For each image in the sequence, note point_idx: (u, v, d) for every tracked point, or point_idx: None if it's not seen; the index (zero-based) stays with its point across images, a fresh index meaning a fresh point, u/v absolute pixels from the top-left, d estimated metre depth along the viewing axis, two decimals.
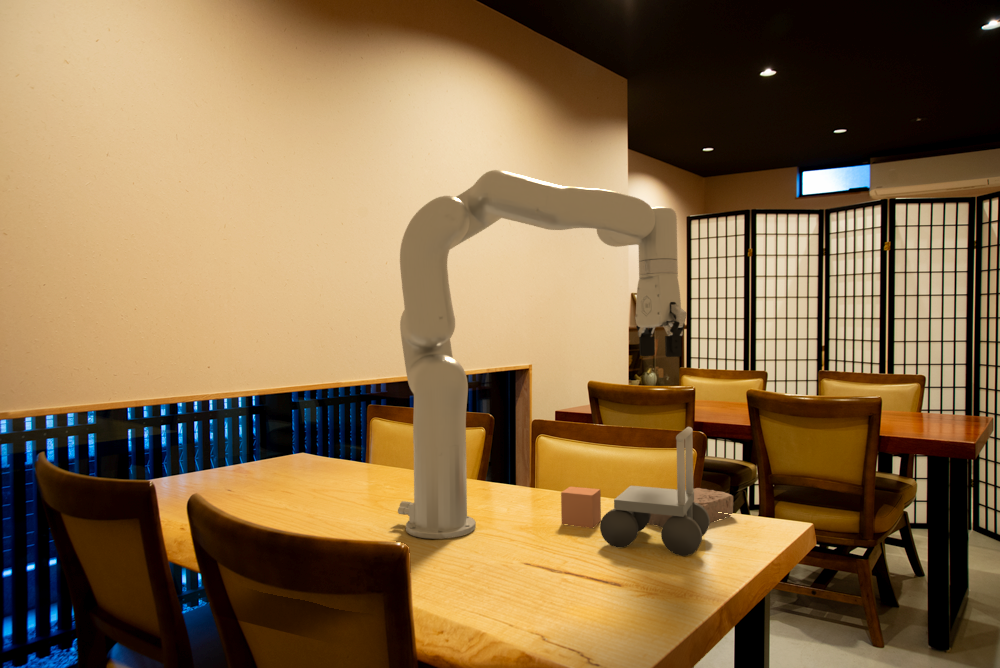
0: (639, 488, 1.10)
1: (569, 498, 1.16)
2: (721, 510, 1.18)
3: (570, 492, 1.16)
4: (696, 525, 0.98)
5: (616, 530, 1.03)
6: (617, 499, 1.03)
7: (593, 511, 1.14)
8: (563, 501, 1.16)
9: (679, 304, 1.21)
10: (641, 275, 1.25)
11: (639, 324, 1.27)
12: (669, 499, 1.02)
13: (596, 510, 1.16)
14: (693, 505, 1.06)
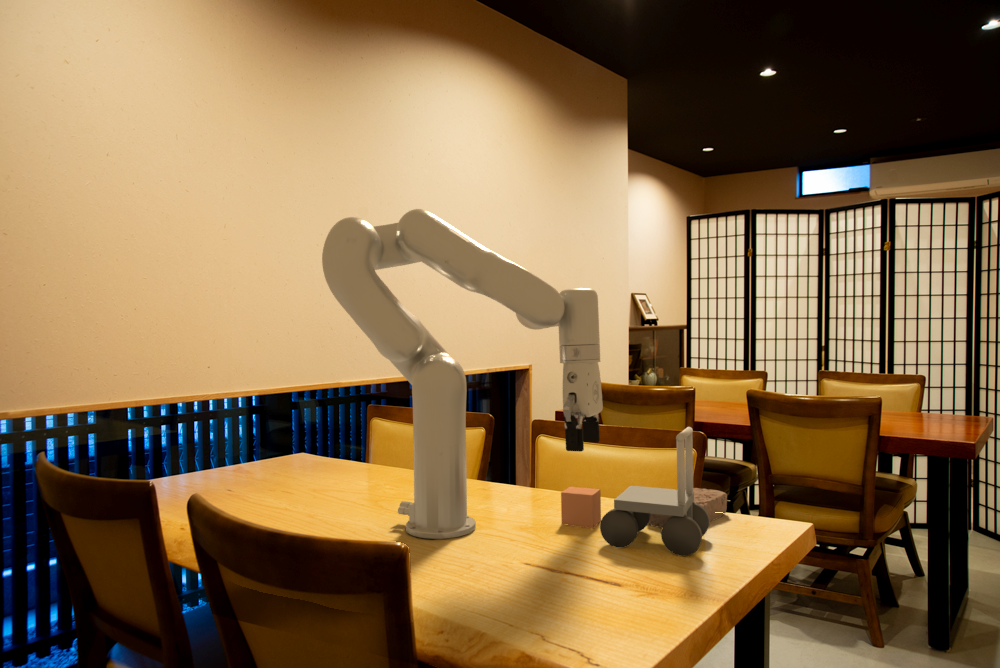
0: (639, 488, 1.10)
1: (569, 498, 1.16)
2: (718, 508, 1.19)
3: (570, 492, 1.16)
4: (696, 525, 0.98)
5: (616, 530, 1.03)
6: (617, 499, 1.03)
7: (593, 511, 1.14)
8: (563, 501, 1.16)
9: None
10: (599, 359, 1.16)
11: (591, 413, 1.14)
12: (669, 499, 1.02)
13: (596, 510, 1.16)
14: (693, 505, 1.06)
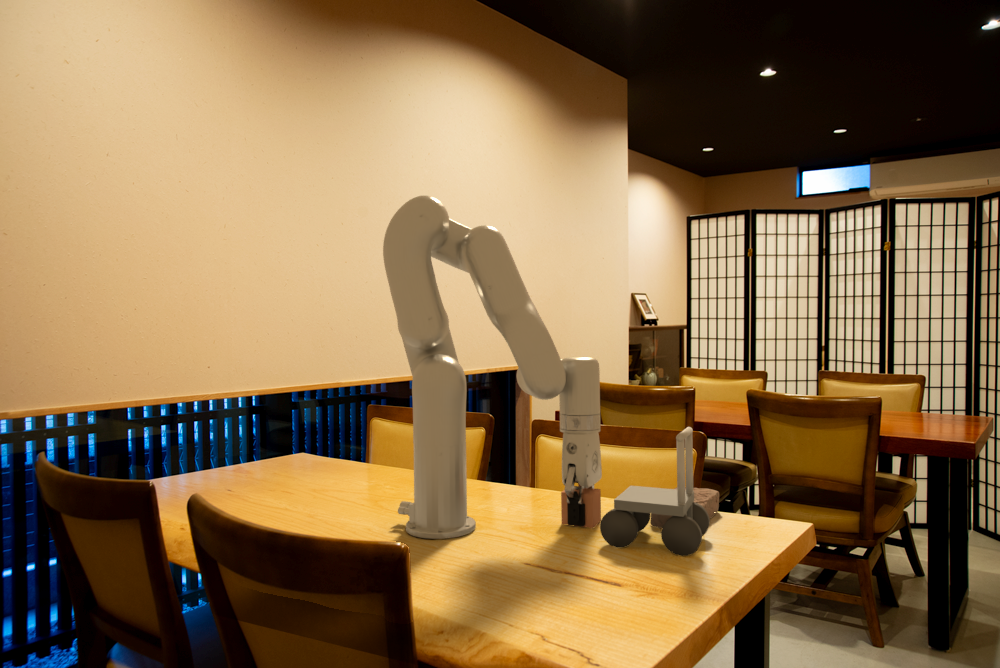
0: (639, 488, 1.10)
1: None
2: (713, 506, 1.20)
3: None
4: (696, 525, 0.98)
5: (616, 530, 1.03)
6: (617, 499, 1.03)
7: (593, 511, 1.14)
8: (563, 501, 1.16)
9: None
10: (599, 429, 1.16)
11: (590, 485, 1.13)
12: (669, 499, 1.02)
13: (596, 509, 1.16)
14: (693, 505, 1.06)
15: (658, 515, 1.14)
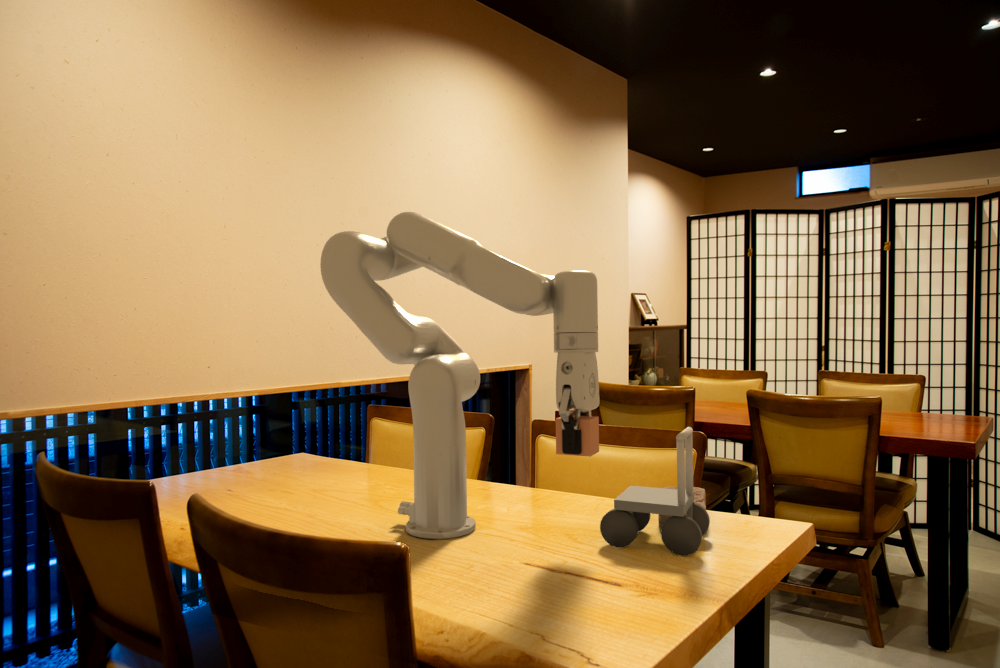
0: (639, 488, 1.10)
1: None
2: None
3: None
4: (696, 525, 0.98)
5: (616, 530, 1.03)
6: (617, 499, 1.03)
7: (590, 438, 1.04)
8: (558, 428, 1.06)
9: None
10: (597, 349, 1.05)
11: (587, 408, 1.03)
12: (669, 499, 1.02)
13: (594, 437, 1.05)
14: (693, 505, 1.06)
15: (668, 517, 1.12)
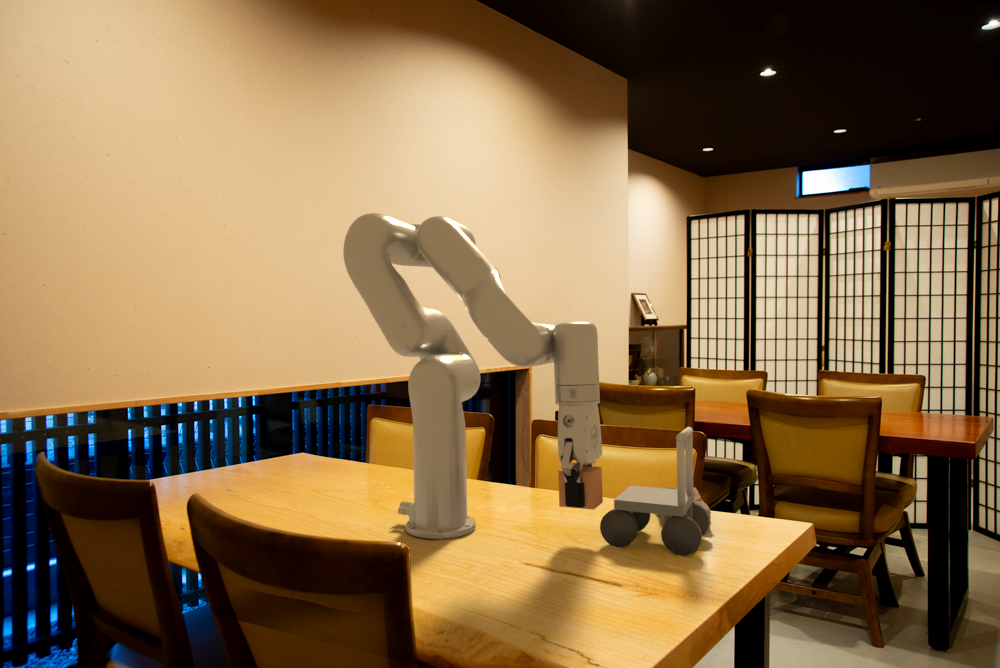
0: (639, 488, 1.10)
1: None
2: None
3: None
4: (696, 525, 0.98)
5: (616, 530, 1.03)
6: (617, 499, 1.03)
7: (594, 490, 1.03)
8: (561, 480, 1.05)
9: None
10: (598, 401, 1.05)
11: (589, 461, 1.03)
12: (669, 499, 1.02)
13: (597, 489, 1.05)
14: (693, 505, 1.06)
15: None
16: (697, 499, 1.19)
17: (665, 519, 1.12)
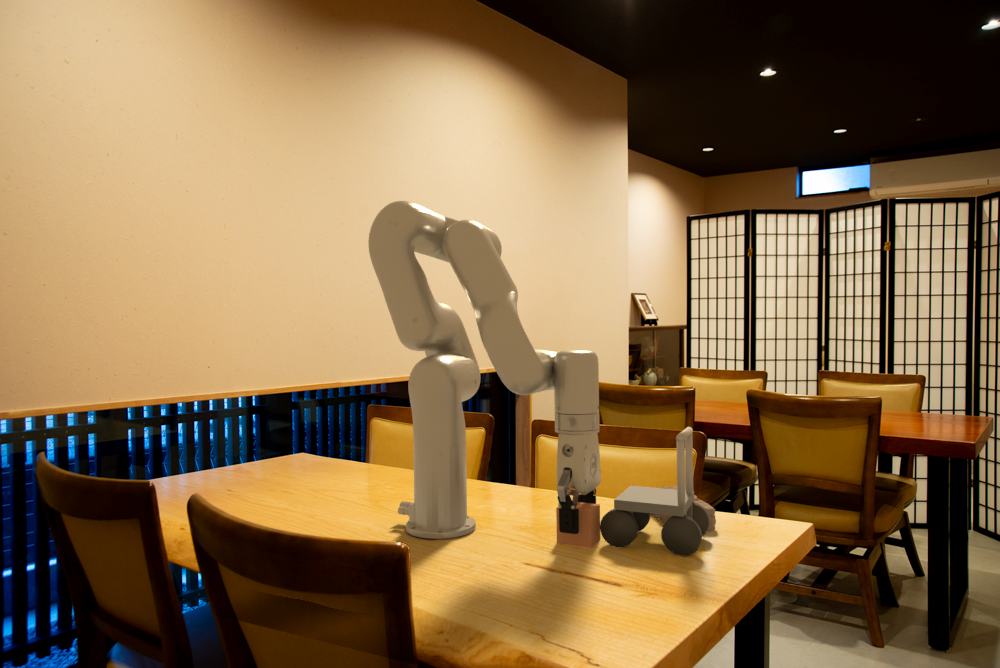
0: (639, 488, 1.10)
1: None
2: None
3: None
4: (696, 525, 0.98)
5: (616, 530, 1.03)
6: (617, 499, 1.03)
7: (591, 529, 1.03)
8: (558, 517, 1.05)
9: None
10: (598, 430, 1.05)
11: (588, 491, 1.03)
12: (669, 499, 1.02)
13: (595, 527, 1.05)
14: (693, 505, 1.06)
15: None
16: (695, 498, 1.19)
17: None
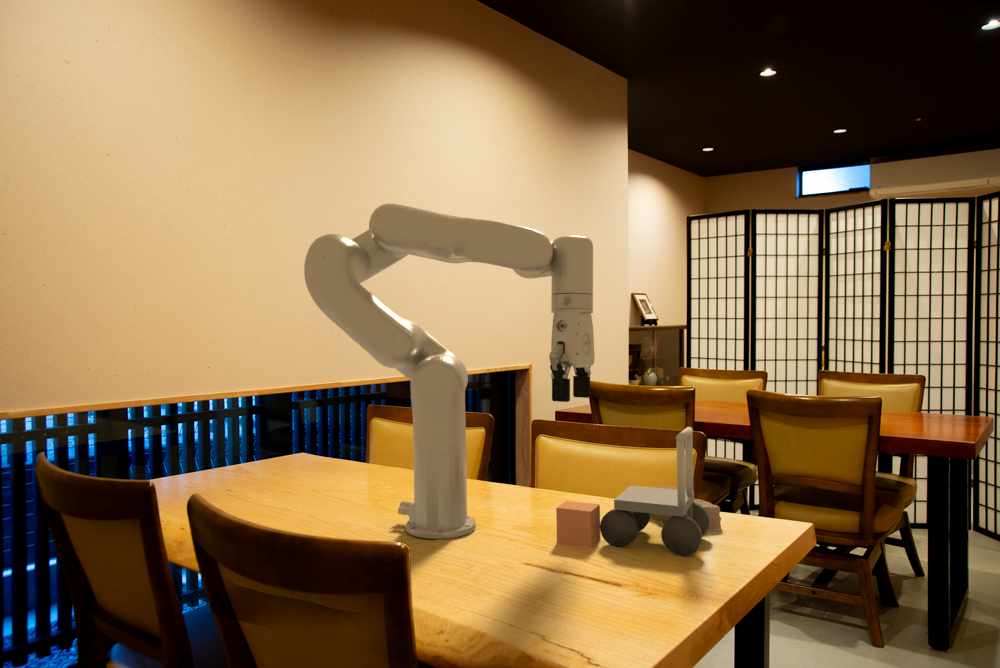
0: (639, 488, 1.10)
1: (565, 514, 1.05)
2: None
3: (566, 507, 1.05)
4: (696, 525, 0.98)
5: (616, 530, 1.03)
6: (617, 499, 1.03)
7: (591, 529, 1.03)
8: (558, 517, 1.05)
9: None
10: (591, 310, 1.12)
11: (580, 364, 1.10)
12: (669, 499, 1.02)
13: (595, 527, 1.05)
14: (693, 505, 1.06)
15: None
16: None
17: None
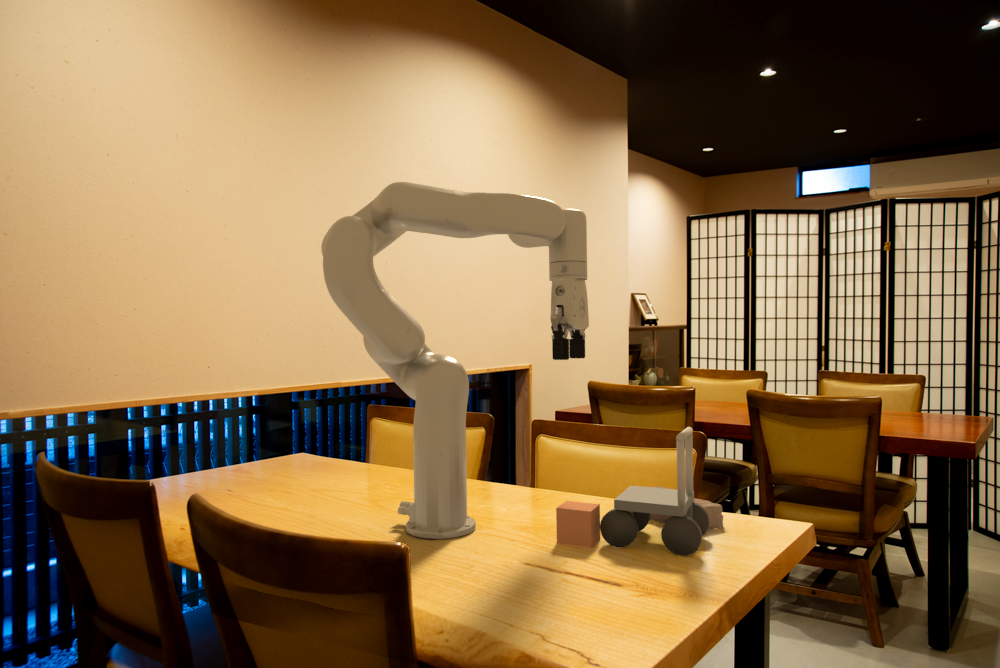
0: (639, 488, 1.10)
1: (565, 514, 1.05)
2: None
3: (566, 508, 1.05)
4: (696, 525, 0.98)
5: (616, 530, 1.03)
6: (617, 499, 1.03)
7: (591, 529, 1.03)
8: (558, 517, 1.05)
9: None
10: (586, 276, 1.23)
11: (577, 325, 1.21)
12: (669, 499, 1.02)
13: (595, 527, 1.05)
14: (693, 505, 1.06)
15: None
16: None
17: None
